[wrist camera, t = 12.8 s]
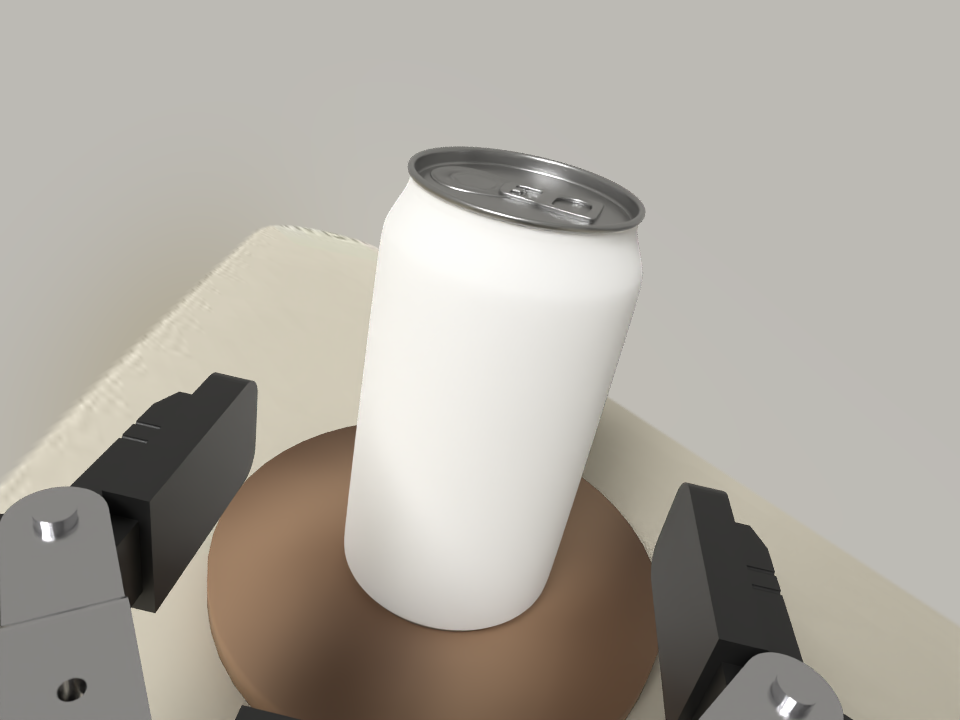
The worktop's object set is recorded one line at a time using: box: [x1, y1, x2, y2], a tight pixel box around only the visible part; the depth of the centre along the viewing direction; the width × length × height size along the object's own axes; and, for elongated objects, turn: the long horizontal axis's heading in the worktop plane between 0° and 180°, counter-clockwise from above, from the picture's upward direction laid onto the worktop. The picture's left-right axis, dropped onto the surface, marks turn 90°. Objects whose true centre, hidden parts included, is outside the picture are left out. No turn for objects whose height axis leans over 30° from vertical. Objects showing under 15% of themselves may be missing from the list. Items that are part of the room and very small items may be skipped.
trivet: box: [207, 425, 658, 720], centre depth 23 cm, size 14×14×1 cm
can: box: [344, 147, 645, 632], centre depth 20 cm, size 6×6×12 cm
